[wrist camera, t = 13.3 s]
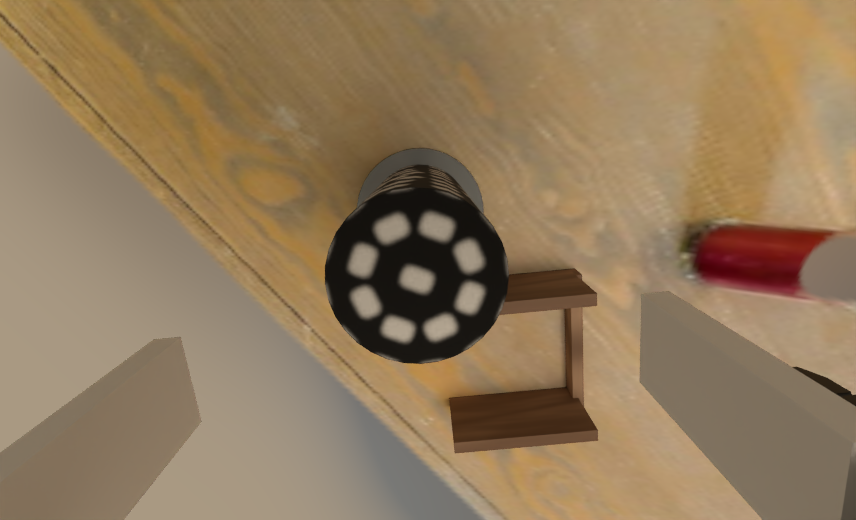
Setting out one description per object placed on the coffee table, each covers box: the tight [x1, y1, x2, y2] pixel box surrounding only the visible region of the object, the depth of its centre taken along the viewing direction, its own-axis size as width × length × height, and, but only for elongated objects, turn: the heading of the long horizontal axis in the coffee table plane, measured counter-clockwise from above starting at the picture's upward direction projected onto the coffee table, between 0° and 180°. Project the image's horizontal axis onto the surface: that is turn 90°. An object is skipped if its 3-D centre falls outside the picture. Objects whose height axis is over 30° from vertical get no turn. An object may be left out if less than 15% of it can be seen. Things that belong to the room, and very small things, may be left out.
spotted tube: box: [325, 164, 509, 364], centre depth 31 cm, size 8×8×20 cm
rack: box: [449, 269, 598, 453], centre depth 41 cm, size 13×12×7 cm
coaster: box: [357, 148, 483, 213], centre depth 41 cm, size 11×11×1 cm
